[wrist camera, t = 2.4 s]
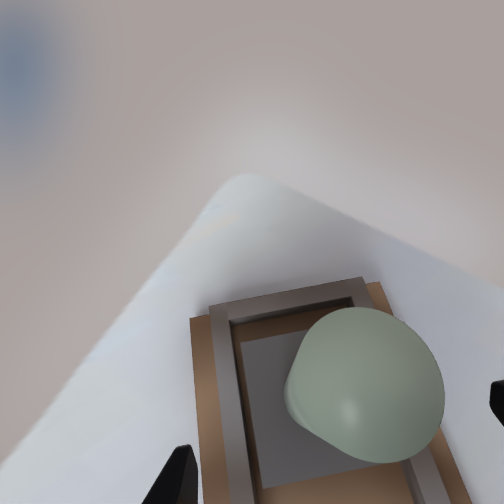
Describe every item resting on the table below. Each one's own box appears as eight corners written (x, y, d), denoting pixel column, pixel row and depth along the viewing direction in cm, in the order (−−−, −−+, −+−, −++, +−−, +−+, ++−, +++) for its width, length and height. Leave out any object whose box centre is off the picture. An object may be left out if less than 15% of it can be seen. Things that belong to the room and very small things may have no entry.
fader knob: (387, 453, 14) (632, 548, 4) (264, 479, 14) (241, 634, 4) (346, 329, 17) (441, 223, 7) (243, 349, 17) (202, 268, 7)
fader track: (553, 736, 11) (631, 827, 9) (235, 811, 11) (224, 927, 8) (373, 288, 19) (387, 271, 17) (194, 323, 19) (182, 311, 17)
